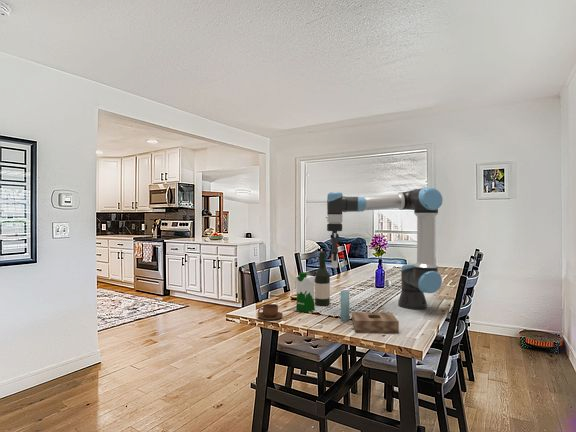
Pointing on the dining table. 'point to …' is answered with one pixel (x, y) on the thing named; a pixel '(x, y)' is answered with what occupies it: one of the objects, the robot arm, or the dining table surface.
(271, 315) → the cup and saucer
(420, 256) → the robot arm
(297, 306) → the milk carton
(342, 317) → the pin
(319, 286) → the wine bottle
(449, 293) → the dining table surface
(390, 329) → the block
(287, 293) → the dining table surface
